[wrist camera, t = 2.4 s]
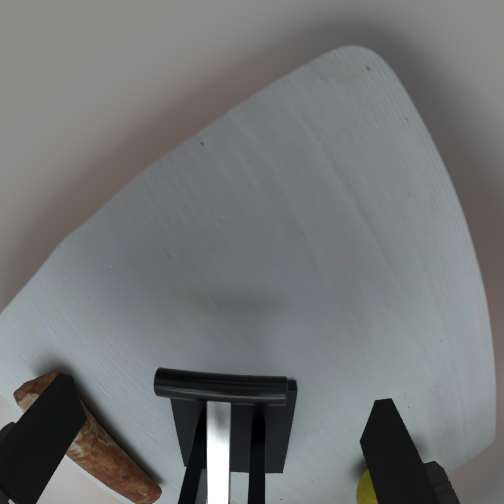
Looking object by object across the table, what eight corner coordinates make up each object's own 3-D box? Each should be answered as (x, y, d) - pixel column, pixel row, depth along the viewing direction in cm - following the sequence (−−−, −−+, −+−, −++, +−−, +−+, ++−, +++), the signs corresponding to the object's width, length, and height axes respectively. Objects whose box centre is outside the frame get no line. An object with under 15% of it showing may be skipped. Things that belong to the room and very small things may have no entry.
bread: (65, 356, 21) (31, 394, 15) (173, 485, 25) (163, 523, 19) (28, 365, 21) (-3, 396, 16) (131, 485, 26) (118, 518, 20)
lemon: (340, 457, 23) (355, 524, 15) (416, 425, 21) (446, 486, 14) (361, 494, 25) (373, 545, 17) (421, 469, 24) (441, 517, 16)
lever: (165, 363, 14) (149, 372, 12) (284, 371, 14) (289, 382, 12) (176, 538, 12) (167, 559, 10) (268, 546, 12) (269, 569, 9)
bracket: (171, 372, 20) (111, 521, 8) (296, 380, 20) (315, 544, 8) (186, 457, 23) (159, 568, 11) (282, 463, 23) (286, 580, 10)
